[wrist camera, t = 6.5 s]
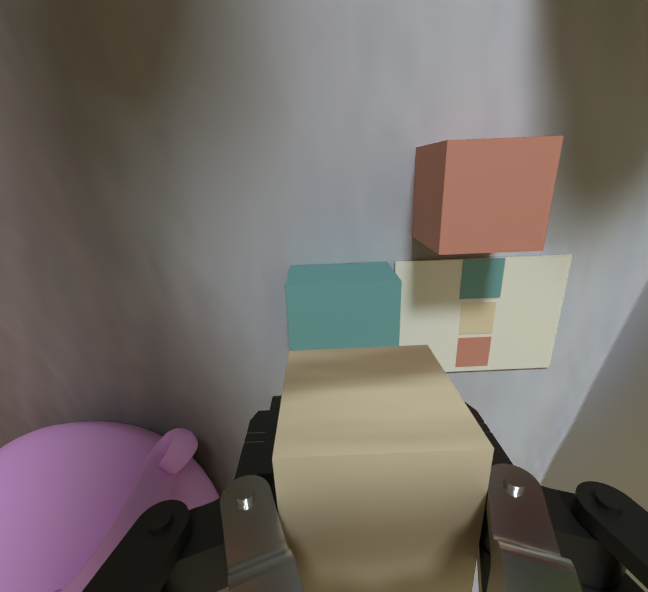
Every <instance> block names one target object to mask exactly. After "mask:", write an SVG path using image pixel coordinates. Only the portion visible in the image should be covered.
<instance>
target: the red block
mask: <svg viewBox="0 0 648 592" xmlns="http://www.w3.org/2000/svg"><path fill="white" fill-rule="evenodd" d="M563 137H564V136H542V137H516V138H491V139H465V140H446V141H442V142H438V143H433V144H429V145H425V146H421V147H416V161H415V181H414V202H413V223H412V237H413V238H415V239H416V240H418V241H419V242H420V243H422V244H423V245H425V246H426V247H428V248H429V249H431V250H432V251H434V252H435V253H437V254H438V255H449V254H473V253H497V252H521V251H543V249H544V243H545V237H546V232H547V226H548V221H549V215H550V209H551V204H552V198H553V193H554V187H555V182H556V176H557V170H558V165H559V159H560V154H561V148H562V142H563Z"/></svg>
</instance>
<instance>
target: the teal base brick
mask: <svg viewBox="0 0 648 592" xmlns="http://www.w3.org/2000/svg"><path fill="white" fill-rule="evenodd" d="M401 287H402V281H401V279H400V278H399V277H398V275H397V274H396V273H395V272H394V270H393V269H392V268H391V267H390V265H389V264H388V263H387V262H370V263H346V264H322V265H298V266H290V269H289V273H288V277H287V280H286V284H285V292H286V305H287V318H288V330H289V343H290V351H297V350H320V349H342V348H365V347H387V346H399V337H400V312H401Z"/></svg>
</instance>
